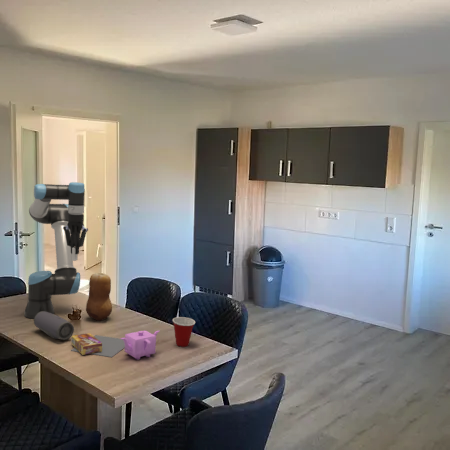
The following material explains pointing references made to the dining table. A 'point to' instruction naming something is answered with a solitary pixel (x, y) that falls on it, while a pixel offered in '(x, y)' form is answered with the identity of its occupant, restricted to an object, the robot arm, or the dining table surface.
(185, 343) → the plastic cup
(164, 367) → the dining table surface
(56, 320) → the bluetooth speaker
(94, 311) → the butternut squash
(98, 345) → the candy box
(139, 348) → the teapot
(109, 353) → the mat
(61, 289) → the robot arm
